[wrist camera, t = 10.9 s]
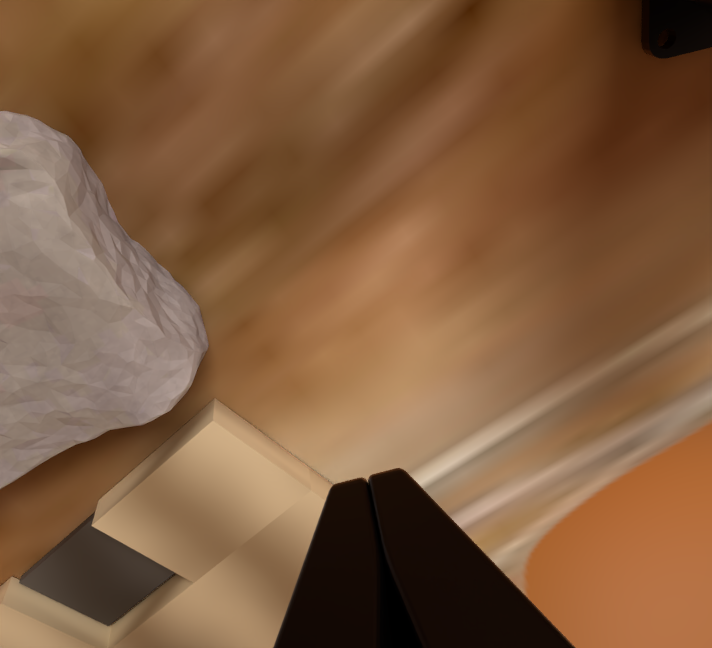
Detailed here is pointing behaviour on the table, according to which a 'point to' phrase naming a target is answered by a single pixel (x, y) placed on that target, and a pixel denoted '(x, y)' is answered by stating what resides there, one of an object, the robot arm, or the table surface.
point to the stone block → (78, 307)
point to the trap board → (178, 549)
